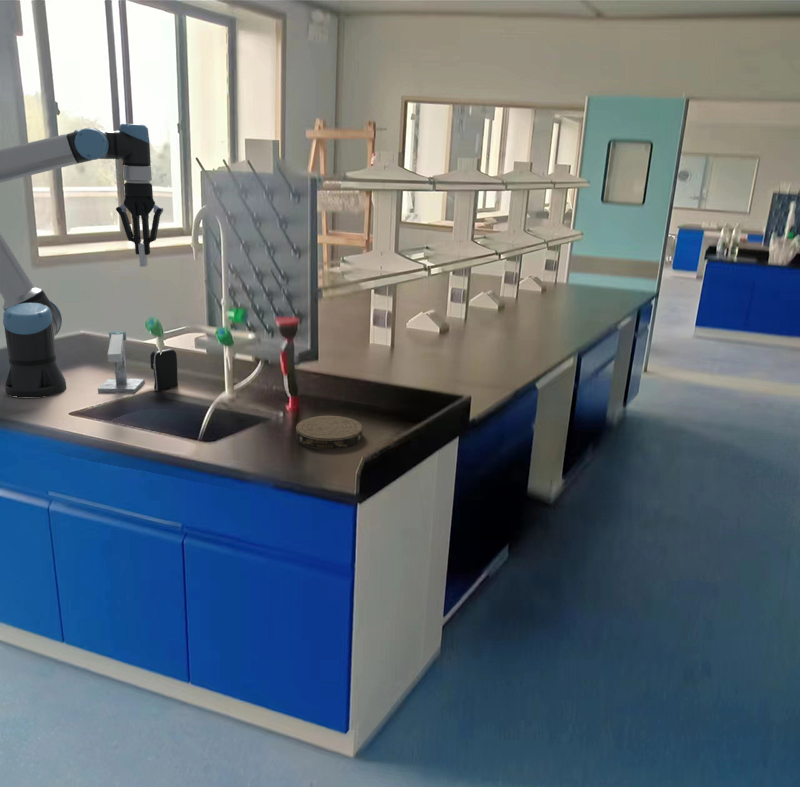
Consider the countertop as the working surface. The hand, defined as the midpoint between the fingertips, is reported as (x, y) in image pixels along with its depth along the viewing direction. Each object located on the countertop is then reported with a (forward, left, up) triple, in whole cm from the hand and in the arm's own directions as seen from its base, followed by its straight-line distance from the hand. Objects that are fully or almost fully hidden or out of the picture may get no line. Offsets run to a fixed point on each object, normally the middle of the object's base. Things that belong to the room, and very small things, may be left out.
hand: (143, 265), depth 214 cm
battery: (+8, -16, -33) cm, 37 cm away
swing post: (-4, -16, -32) cm, 36 cm away
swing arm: (-1, -27, -18) cm, 32 cm away
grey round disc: (+56, -53, -33) cm, 84 cm away
